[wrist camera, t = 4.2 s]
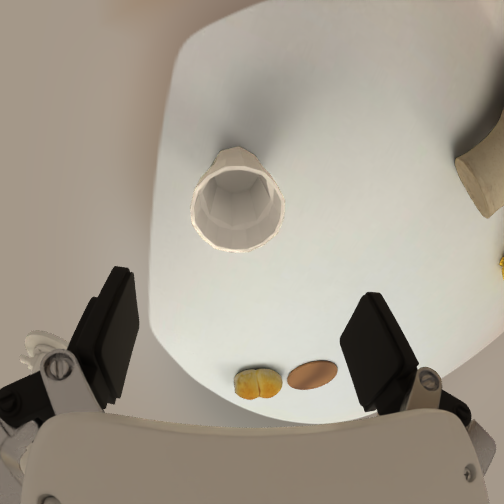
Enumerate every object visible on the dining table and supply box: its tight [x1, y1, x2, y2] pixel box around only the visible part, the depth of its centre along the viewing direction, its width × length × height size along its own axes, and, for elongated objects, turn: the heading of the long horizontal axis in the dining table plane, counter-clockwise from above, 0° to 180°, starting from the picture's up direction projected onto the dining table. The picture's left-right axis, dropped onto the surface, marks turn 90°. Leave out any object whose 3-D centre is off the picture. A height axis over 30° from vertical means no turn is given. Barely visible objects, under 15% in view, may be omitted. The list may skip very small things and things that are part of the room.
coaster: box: [287, 361, 337, 390], centre depth 50 cm, size 10×10×1 cm
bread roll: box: [234, 368, 282, 400], centre depth 47 cm, size 8×9×4 cm
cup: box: [190, 146, 285, 252], centre depth 24 cm, size 7×7×11 cm
